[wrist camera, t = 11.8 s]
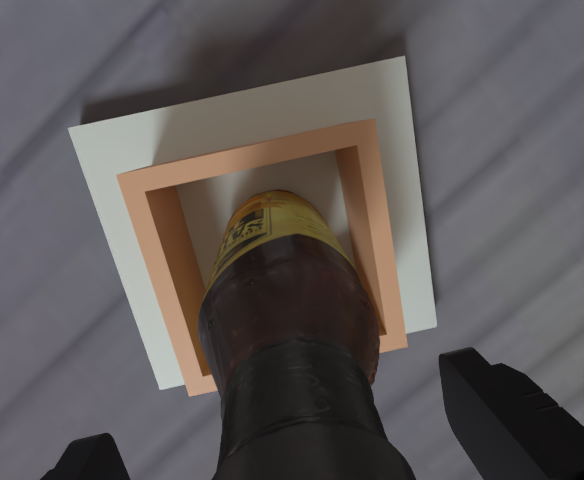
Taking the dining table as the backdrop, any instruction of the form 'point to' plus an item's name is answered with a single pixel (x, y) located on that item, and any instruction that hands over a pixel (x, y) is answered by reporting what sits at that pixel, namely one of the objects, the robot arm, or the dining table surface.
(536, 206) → the dining table surface
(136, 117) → the box on white base
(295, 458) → the sauce bottle
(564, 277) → the dining table surface
